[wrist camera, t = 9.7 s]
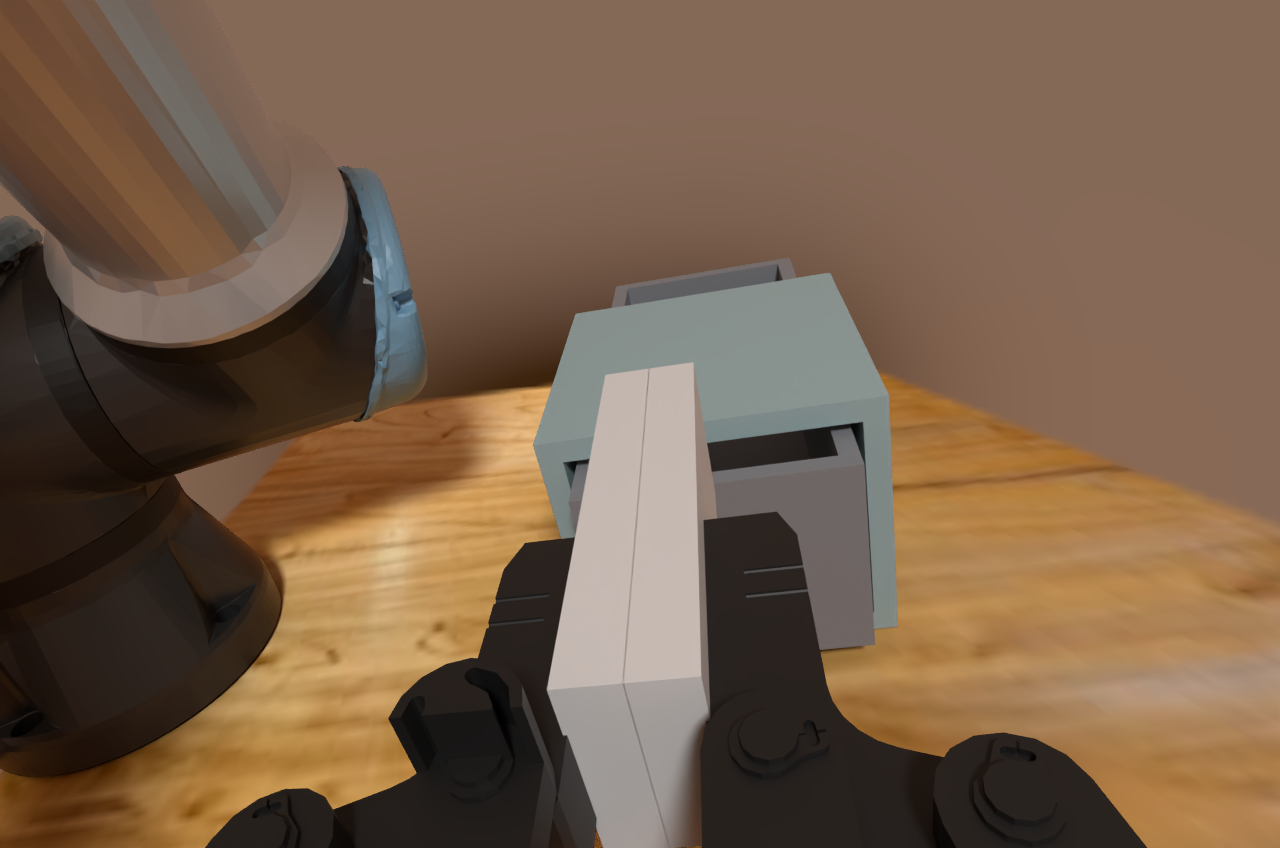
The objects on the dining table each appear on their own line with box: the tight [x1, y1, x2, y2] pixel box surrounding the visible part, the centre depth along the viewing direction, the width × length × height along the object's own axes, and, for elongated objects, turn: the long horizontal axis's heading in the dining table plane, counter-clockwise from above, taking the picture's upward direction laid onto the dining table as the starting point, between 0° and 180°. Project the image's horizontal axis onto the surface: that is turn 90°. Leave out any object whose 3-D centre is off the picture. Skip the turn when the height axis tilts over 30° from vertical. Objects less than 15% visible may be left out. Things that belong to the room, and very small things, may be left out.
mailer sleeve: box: [533, 273, 898, 629], centre depth 39 cm, size 14×14×12 cm
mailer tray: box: [568, 258, 875, 650], centre depth 42 cm, size 24×11×9 cm, turn 177°
